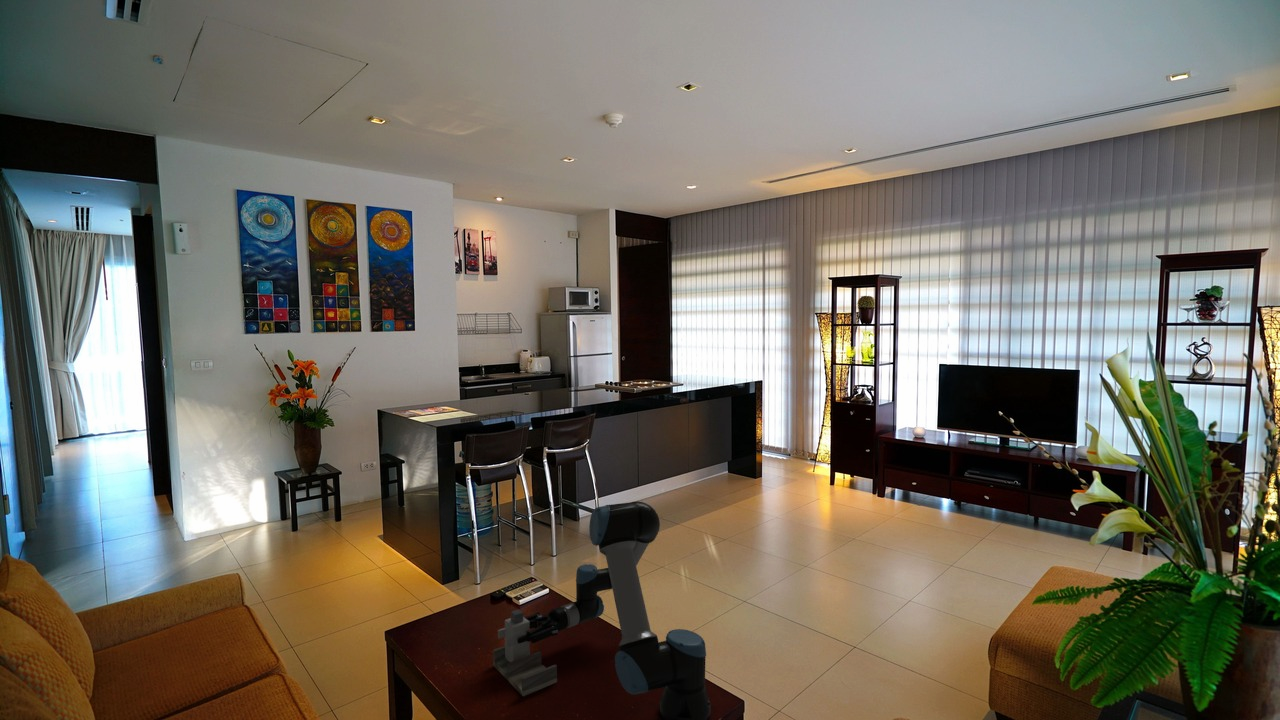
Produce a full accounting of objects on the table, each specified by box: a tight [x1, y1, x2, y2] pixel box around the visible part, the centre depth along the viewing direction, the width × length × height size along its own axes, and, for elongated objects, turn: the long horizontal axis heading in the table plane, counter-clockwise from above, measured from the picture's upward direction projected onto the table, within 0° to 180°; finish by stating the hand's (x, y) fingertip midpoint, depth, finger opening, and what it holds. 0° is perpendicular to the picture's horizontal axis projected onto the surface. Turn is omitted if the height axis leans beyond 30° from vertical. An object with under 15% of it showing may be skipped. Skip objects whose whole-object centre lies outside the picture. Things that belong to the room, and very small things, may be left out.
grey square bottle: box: [504, 609, 531, 662], centre depth 202 cm, size 6×6×16 cm
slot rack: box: [492, 645, 558, 697], centre depth 199 cm, size 21×12×6 cm, turn 39°
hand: (503, 638), depth 199 cm, fingers closed on grey square bottle, 6 cm apart
